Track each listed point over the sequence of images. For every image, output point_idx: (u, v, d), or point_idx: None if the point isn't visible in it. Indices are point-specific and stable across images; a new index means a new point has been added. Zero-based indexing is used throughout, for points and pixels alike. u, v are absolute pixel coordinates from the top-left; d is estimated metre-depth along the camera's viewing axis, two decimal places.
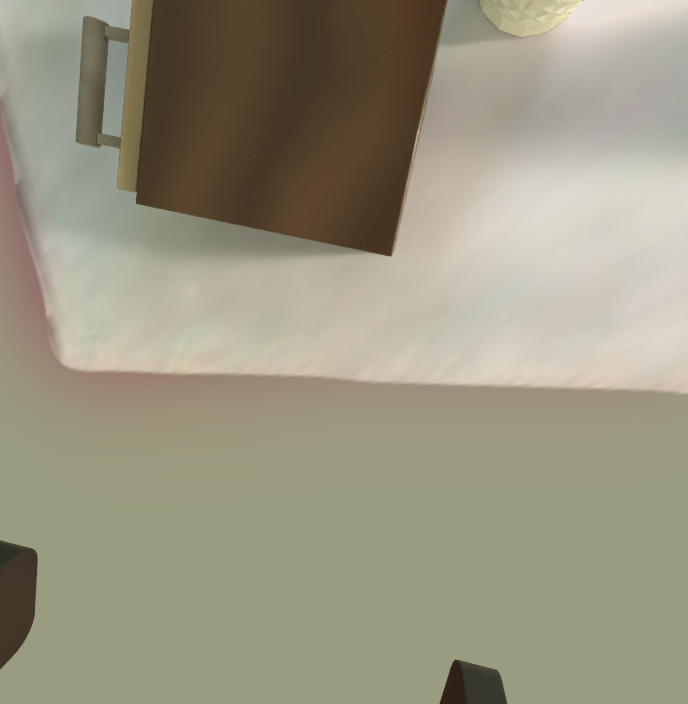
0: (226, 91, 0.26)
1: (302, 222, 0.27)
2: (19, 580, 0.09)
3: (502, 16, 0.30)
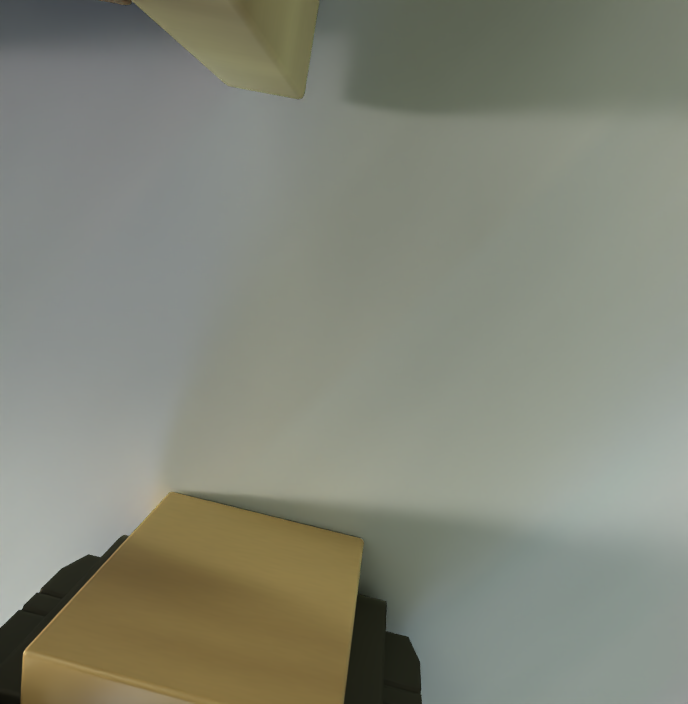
0: None
1: None
2: None
3: None
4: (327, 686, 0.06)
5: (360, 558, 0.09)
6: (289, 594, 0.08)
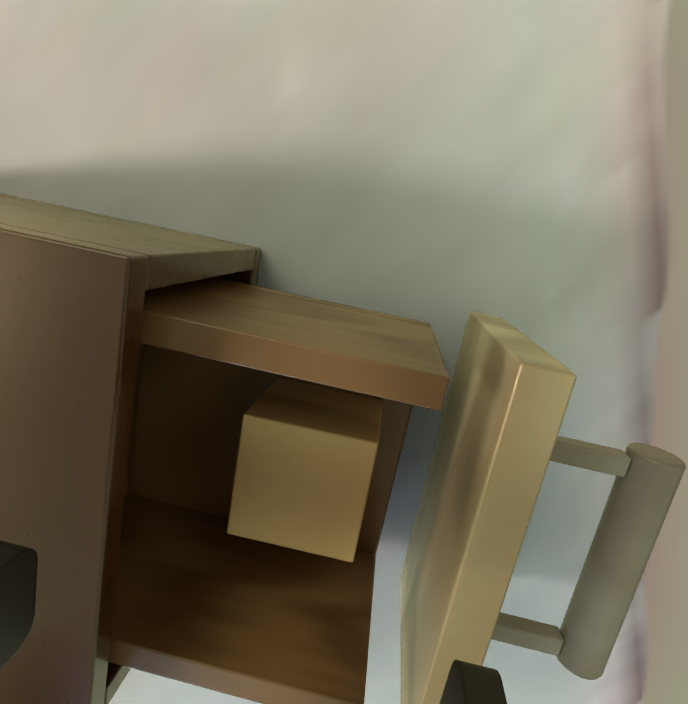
0: None
1: None
2: (19, 580, 0.09)
3: None
4: (371, 433, 0.15)
5: (382, 405, 0.17)
6: (349, 411, 0.16)
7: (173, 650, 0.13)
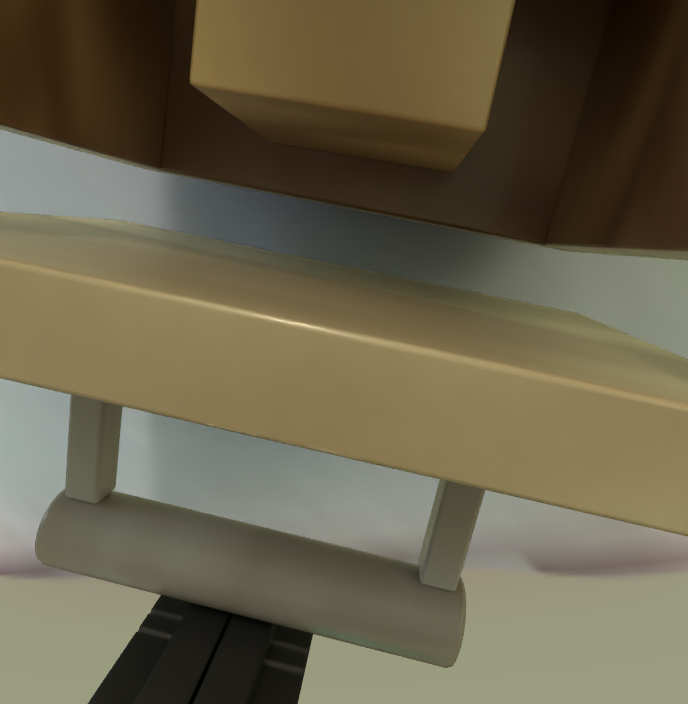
0: None
1: None
2: None
3: None
4: None
5: (456, 167, 0.10)
6: None
7: None
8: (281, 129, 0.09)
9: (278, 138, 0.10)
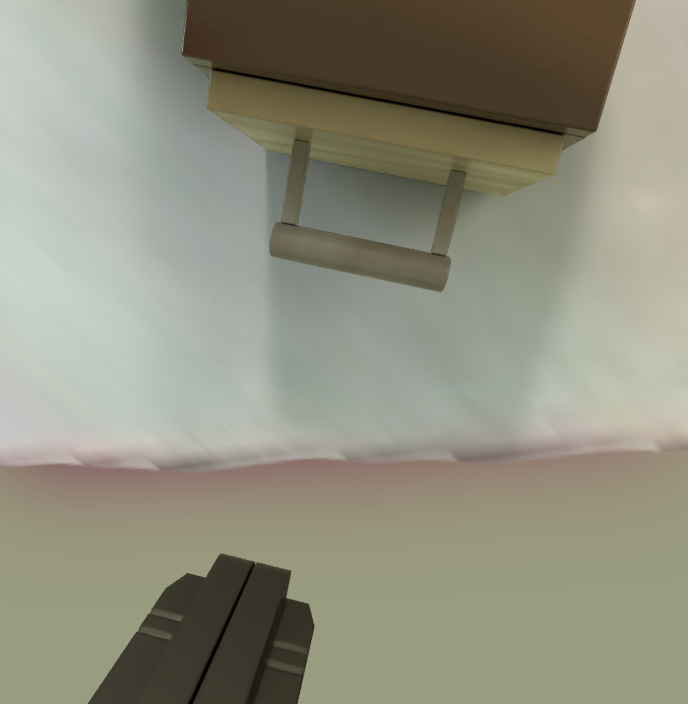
0: None
1: None
2: None
3: None
4: None
5: None
6: None
7: None
8: None
9: None
